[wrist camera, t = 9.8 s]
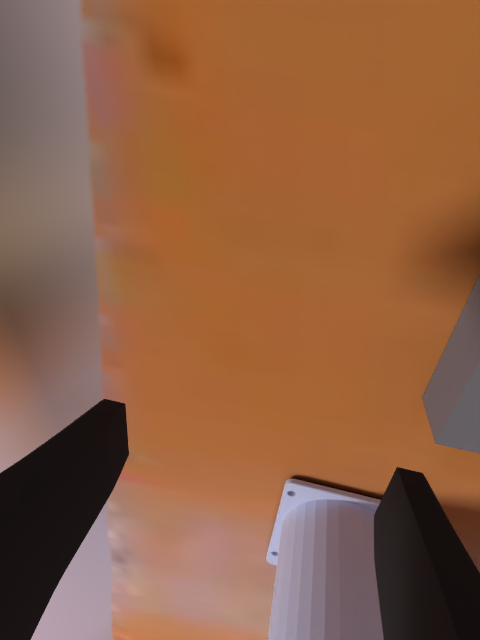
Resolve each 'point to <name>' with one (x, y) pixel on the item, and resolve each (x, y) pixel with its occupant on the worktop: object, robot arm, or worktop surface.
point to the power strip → (458, 383)
